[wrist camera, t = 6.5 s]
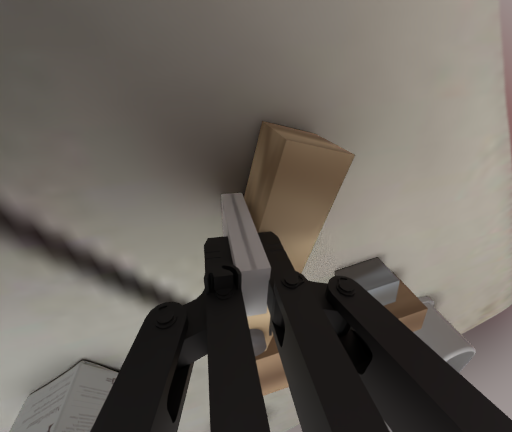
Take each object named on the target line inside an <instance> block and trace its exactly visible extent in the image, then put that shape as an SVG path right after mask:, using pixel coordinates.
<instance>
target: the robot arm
mask: <svg viewBox="0 0 512 432" xmlns="http://www.w3.org/2000/svg"><path fill="white" fill-rule="evenodd" d="M221 205H222V227H223V236H224V237H215V238H208V239H207V241H206V243H205V244H204V255H205V276H204V284H205V289H204V291H203V293H202V294H201V295H200V296H199V297H198V298H197V299H195V300H193V301H192V302H189V303H187V304H185V305H183V306H182V305H181V304H180V303H176V302H165V303H163V304H160V305H158V306H156V307H155V308H154V309H152V310H151V311H150V312H149V314H148V315H147V317H146V318H145V320H144V322H143V324H142V326H141V328H140V330H139V332H138V334H137V337H136V339H135V341H134V343H133V345H132V347H131V349H130V351H129V353H128V355H127V357H126V359H125V361H124V363H123V365H122V367H121V369H120V371H119V373H118V375H117V378H116V380H115V382H114V384H113V386H112V388H111V390H110V392H109V394H108V396H107V398H106V400H105V402H104V404H103V406H102V408H101V410H100V412H99V414H98V417H97V419H96V421H95V423H94V425H93V427H92V429H91V431H90V432H177V430H178V426H179V422H180V418H181V414H182V410H183V405H184V401H185V397H186V393H187V389H188V385H189V381H190V377H191V372H192V368H193V364H194V361H196V360H198V359H200V358H201V357H203V356H205V355H207V354H208V373H209V401H210V429H211V432H270V428H269V423H268V418H267V413H266V408H265V403H264V399H263V394H262V389H261V384H260V379H259V374H258V369H257V364H256V359H255V354H254V349H253V344H252V339H251V334H250V329H249V324H248V319H247V317H248V316H254V315H260V314H265V313H267V306H268V310H269V313H270V324H269V336H272V332H273V336H274V339H275V342H276V345H277V349H278V352H279V355H280V359H281V362H282V365H283V369H284V372H285V375H286V378H287V382H288V385H289V388H290V392H291V395H292V398H293V402H294V405H295V408H296V411H297V415H298V418H299V421H300V425H301V428H302V431H303V432H390V431H389V429H388V427H387V425H388V426H389V428H390V429H391V430H392V432H512V420H511V419H510V418H508V416H506V415H505V414H504V413H503V412H502V411H501V410H500V409H499V408H497V407H496V406H495V405H494V404H493V403H492V402H491V401H490V400H488V399H487V398H486V397H485V396H484V395H483V394H482V393H481V392H480V391H478V390H477V389H476V388H475V387H474V386H473V385H472V384H471V383H469V382H468V381H467V380H466V379H465V378H464V377H463V376H462V375H460V374H459V373H458V372H457V371H456V370H455V369H454V368H453V367H452V366H450V365H449V364H448V363H447V362H446V361H445V360H444V359H443V358H441V357H440V356H439V355H438V354H437V353H436V352H435V351H434V350H432V349H431V348H430V347H429V346H428V345H427V344H426V343H425V342H424V341H422V340H421V339H420V338H419V337H418V336H417V335H416V334H415V333H413V332H412V331H411V330H410V329H409V328H408V327H407V326H406V325H404V324H403V323H402V322H401V321H400V320H399V319H398V318H397V317H395V316H394V315H393V314H392V313H391V312H390V311H389V310H388V309H387V308H385V307H384V306H383V305H382V304H381V303H380V302H379V301H378V300H376V299H375V298H374V297H373V296H372V295H371V294H370V293H369V292H367V291H366V290H365V289H364V288H363V287H362V286H361V285H360V284H358V283H357V282H356V281H354V280H353V279H351V278H348V277H346V276H334V277H332V278H331V279H330V280H329V282H328V284H326V283H318V282H312V281H308V280H307V279H306V278H305V277H304V275H302V274H301V273H299V272H297V271H295V269H294V267H293V265H292V263H291V261H290V259H289V257H288V255H287V253H286V251H285V250H284V247H283V245H282V244H281V241H280V239H279V238H278V236H277V235H275V234H274V233H273V232H272V231H270V232H260V233H257V230H256V228H255V225H254V223H253V220H252V218H251V215H250V212H249V210H248V207H247V205H246V202H245V200H244V197H243V194H242V193H229V194H221ZM384 421H385V422H386V423H385V422H384ZM386 424H387V425H386Z"/></svg>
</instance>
